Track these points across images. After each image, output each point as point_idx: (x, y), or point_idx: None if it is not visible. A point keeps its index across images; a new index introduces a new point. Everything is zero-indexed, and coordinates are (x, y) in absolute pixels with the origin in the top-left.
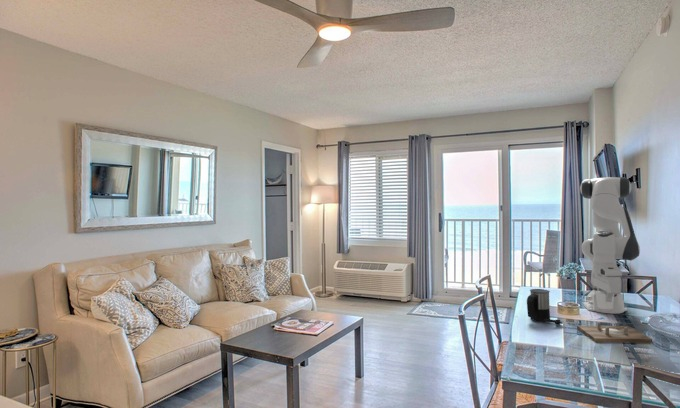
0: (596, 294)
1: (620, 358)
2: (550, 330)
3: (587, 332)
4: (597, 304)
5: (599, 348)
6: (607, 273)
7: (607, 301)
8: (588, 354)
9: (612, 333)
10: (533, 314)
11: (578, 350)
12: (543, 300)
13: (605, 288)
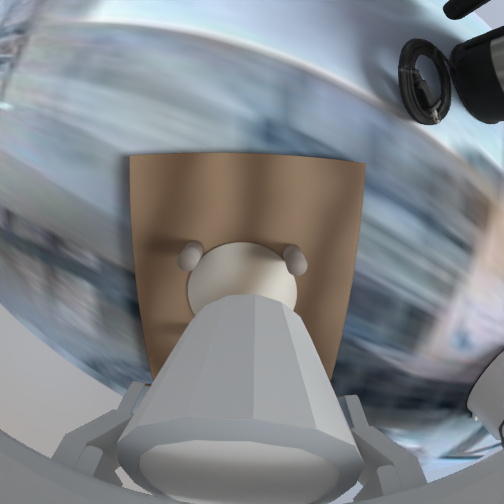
0: (255, 383)
1: (3, 184)
2: (330, 25)
3: (229, 157)
4: (275, 310)
5: (68, 146)
6: None
7: (132, 382)
8: (26, 93)
9: (206, 279)
10: (453, 9)
11: (56, 66)
12: None
13: (20, 487)
